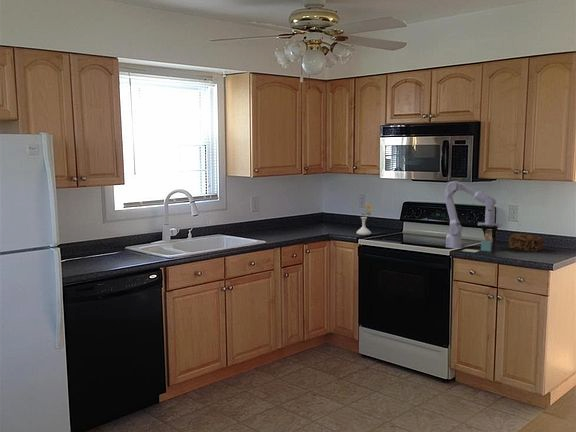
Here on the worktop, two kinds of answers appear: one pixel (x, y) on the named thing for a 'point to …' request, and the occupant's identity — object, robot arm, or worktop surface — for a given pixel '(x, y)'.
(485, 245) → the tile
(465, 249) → the mat
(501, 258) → the worktop surface
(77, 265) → the worktop surface
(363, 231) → the flower in vase
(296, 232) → the worktop surface
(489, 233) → the brown wooden box
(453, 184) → the robot arm
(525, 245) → the bread
